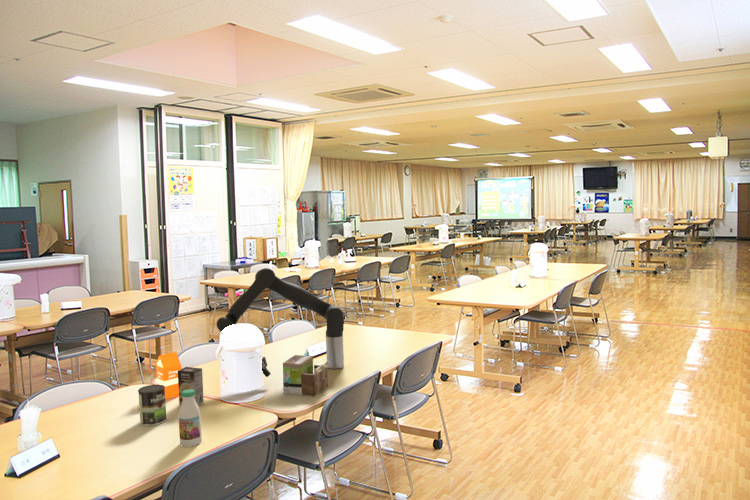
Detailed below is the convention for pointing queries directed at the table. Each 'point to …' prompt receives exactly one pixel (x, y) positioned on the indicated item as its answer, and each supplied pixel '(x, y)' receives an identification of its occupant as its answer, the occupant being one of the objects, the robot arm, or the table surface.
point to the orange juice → (168, 373)
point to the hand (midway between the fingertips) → (268, 375)
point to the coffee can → (152, 405)
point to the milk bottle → (189, 420)
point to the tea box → (296, 373)
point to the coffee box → (191, 383)
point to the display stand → (315, 380)
